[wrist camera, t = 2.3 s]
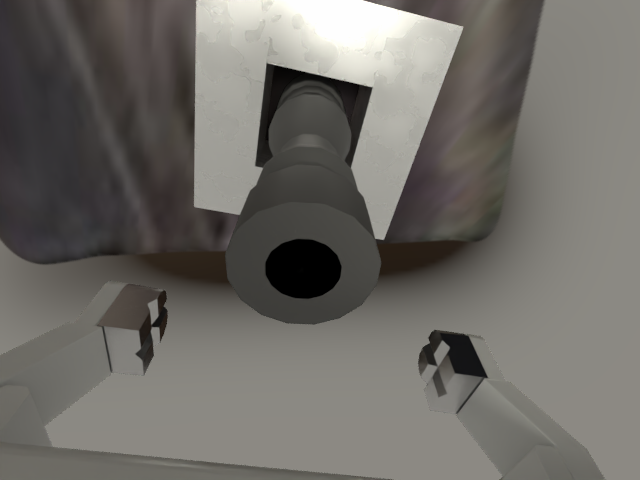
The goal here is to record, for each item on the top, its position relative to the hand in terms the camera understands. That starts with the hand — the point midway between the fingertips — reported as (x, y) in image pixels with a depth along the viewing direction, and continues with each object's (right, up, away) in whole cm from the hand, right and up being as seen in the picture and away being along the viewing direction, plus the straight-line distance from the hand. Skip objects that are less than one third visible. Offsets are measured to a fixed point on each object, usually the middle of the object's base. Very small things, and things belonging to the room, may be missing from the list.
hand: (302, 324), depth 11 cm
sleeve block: (0, +15, +23) cm, 28 cm away
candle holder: (0, +15, +23) cm, 28 cm away
